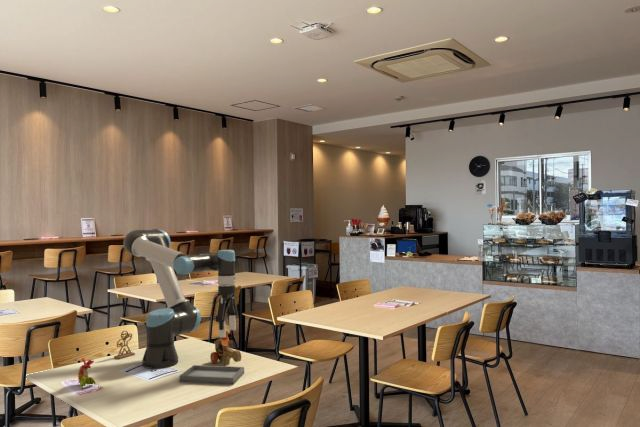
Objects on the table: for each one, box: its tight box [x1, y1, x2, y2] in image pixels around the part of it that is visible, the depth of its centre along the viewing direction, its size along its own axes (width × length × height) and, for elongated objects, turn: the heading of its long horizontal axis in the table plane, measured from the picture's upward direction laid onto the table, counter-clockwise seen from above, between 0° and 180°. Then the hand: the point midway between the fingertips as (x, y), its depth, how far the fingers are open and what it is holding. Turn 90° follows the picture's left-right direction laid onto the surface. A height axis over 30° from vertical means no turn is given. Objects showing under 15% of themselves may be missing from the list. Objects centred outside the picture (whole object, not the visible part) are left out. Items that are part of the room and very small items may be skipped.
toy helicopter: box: [209, 330, 242, 366], centre depth 213 cm, size 8×21×14 cm, turn 39°
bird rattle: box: [77, 357, 97, 388], centre depth 188 cm, size 6×11×9 cm
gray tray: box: [179, 364, 245, 386], centre depth 196 cm, size 22×14×2 cm, turn 82°
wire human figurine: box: [113, 330, 136, 360], centre depth 227 cm, size 9×4×12 cm, turn 149°
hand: (227, 333), depth 214 cm, fingers open, 13 cm apart
